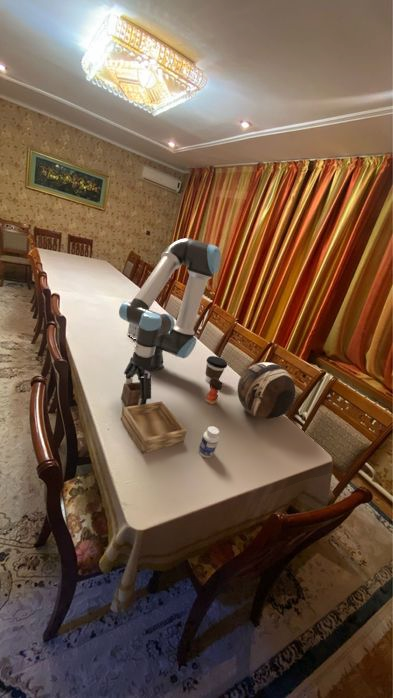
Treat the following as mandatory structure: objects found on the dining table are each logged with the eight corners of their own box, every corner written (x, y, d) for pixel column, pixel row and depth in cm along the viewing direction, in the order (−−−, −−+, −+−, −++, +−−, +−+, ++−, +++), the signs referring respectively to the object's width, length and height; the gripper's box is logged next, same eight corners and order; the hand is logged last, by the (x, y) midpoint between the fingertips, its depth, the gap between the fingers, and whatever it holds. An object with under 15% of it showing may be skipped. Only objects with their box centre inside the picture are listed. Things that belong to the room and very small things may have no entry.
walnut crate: (139, 396, 121) (142, 381, 119) (145, 404, 117) (148, 389, 114) (121, 398, 116) (124, 383, 114) (127, 407, 112) (130, 391, 109)
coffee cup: (225, 383, 153) (231, 363, 149) (212, 387, 145) (219, 366, 140) (209, 373, 159) (216, 354, 155) (196, 377, 151) (202, 357, 147)
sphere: (251, 434, 117) (273, 381, 108) (220, 399, 137) (236, 351, 128) (294, 428, 130) (316, 380, 121) (260, 396, 150) (277, 353, 141)
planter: (150, 344, 175) (155, 322, 170) (124, 337, 174) (128, 315, 169) (154, 335, 190) (158, 315, 185) (130, 329, 189) (134, 308, 184)
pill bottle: (197, 445, 102) (204, 423, 99) (212, 448, 103) (219, 426, 100) (198, 456, 97) (206, 433, 94) (214, 459, 98) (222, 436, 95)
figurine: (218, 401, 134) (226, 378, 130) (215, 406, 129) (223, 383, 125) (206, 395, 136) (213, 373, 132) (202, 401, 131) (209, 378, 126)
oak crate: (158, 411, 114) (161, 401, 113) (183, 442, 102) (186, 430, 100) (120, 418, 105) (123, 407, 103) (142, 453, 92) (145, 440, 90)
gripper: (121, 339, 115) (113, 385, 123) (149, 370, 98) (137, 421, 105) (138, 339, 120) (129, 384, 127) (168, 368, 102) (155, 417, 110)
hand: (133, 401), depth 116 cm, fingers open, 12 cm apart
